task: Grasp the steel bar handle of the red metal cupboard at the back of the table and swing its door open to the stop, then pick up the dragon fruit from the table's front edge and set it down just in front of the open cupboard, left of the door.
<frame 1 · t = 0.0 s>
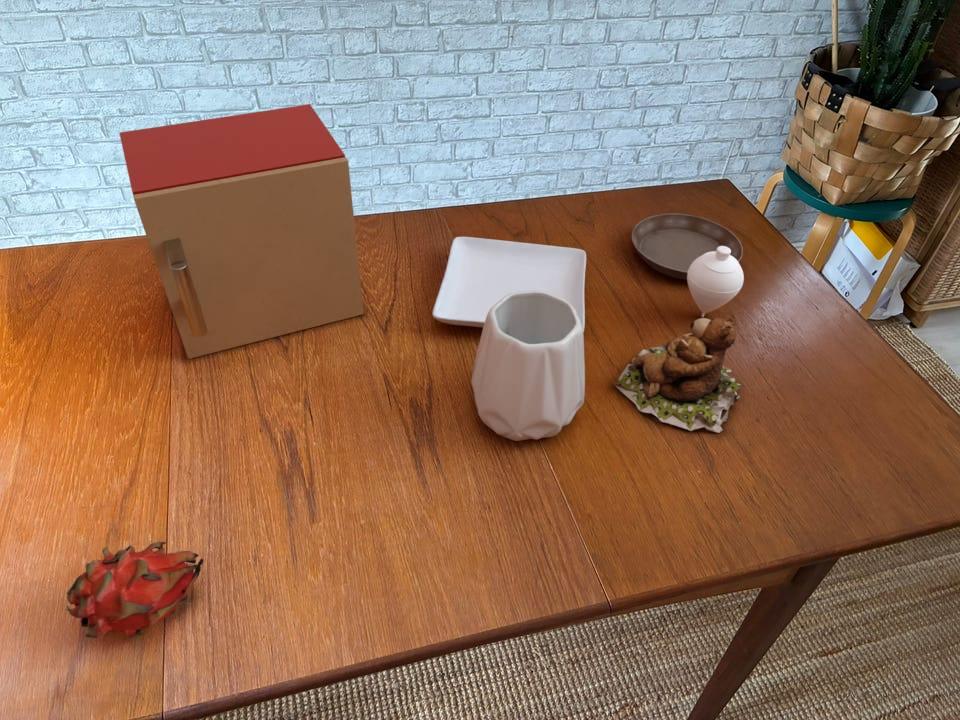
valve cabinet: (264, 298, 104), on the table
spinning top: (702, 317, 104), on the table
plate: (512, 298, 106), on the table
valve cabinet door: (269, 276, 88), point 12 cm above the table, hinge at 0.0°
bear figurine: (676, 391, 93), on the table
dragon fruit: (149, 605, 69), on the table
vase: (524, 409, 89), on the table
plant saucer: (682, 257, 116), on the table
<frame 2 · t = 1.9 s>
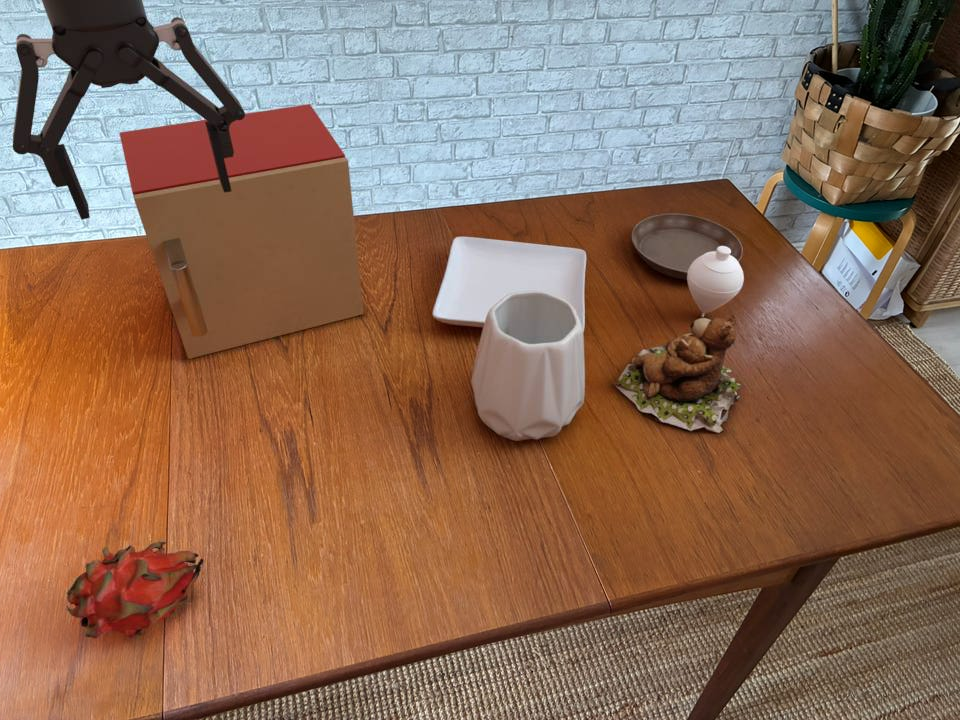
hand: (157, 199, 72), 27 cm above the table, tool pointing down, fingers open, 13 cm apart
nothing on the table moved.
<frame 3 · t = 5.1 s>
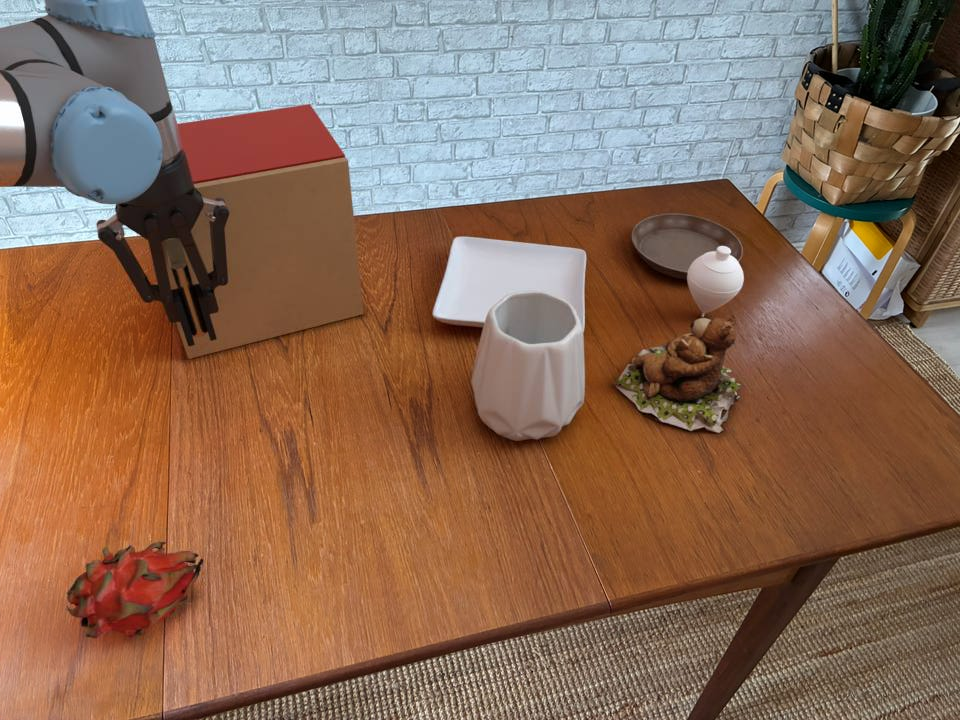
hand: (200, 335, 85), 8 cm above the table, tool pointing down, fingers closed on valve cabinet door, 2 cm apart
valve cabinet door: (269, 276, 88), point 12 cm above the table, hinge at 0.0°, touching gripper
everything else where it was.
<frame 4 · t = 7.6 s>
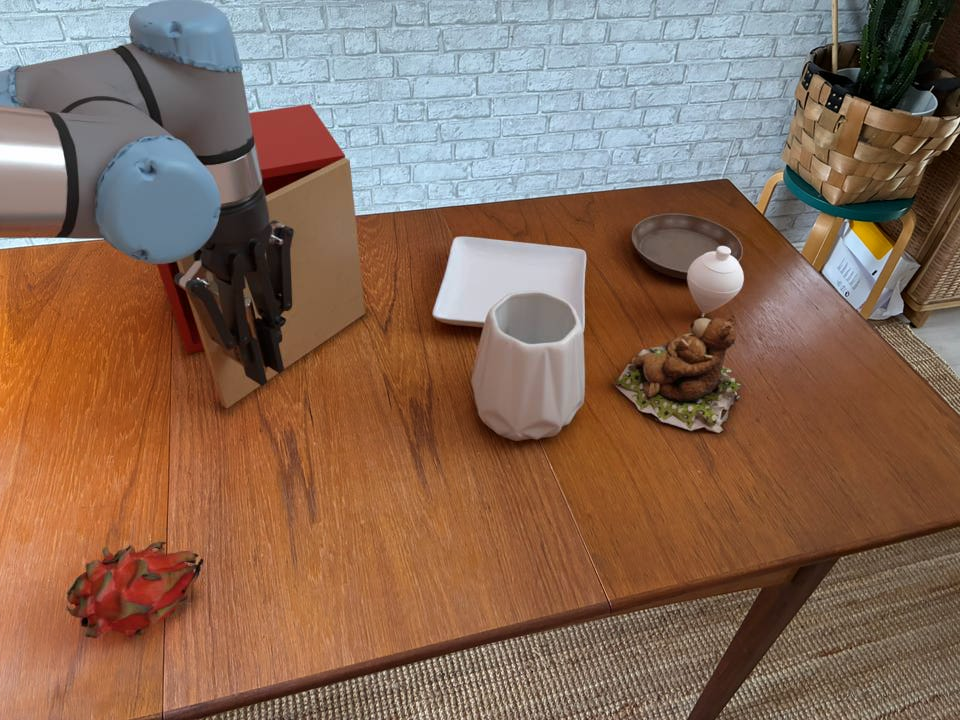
hand: (265, 372, 81), 8 cm above the table, tool pointing down, fingers closed on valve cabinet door, 2 cm apart
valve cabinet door: (302, 294, 85), point 12 cm above the table, hinge at 27.3°, touching gripper
everything else where it was.
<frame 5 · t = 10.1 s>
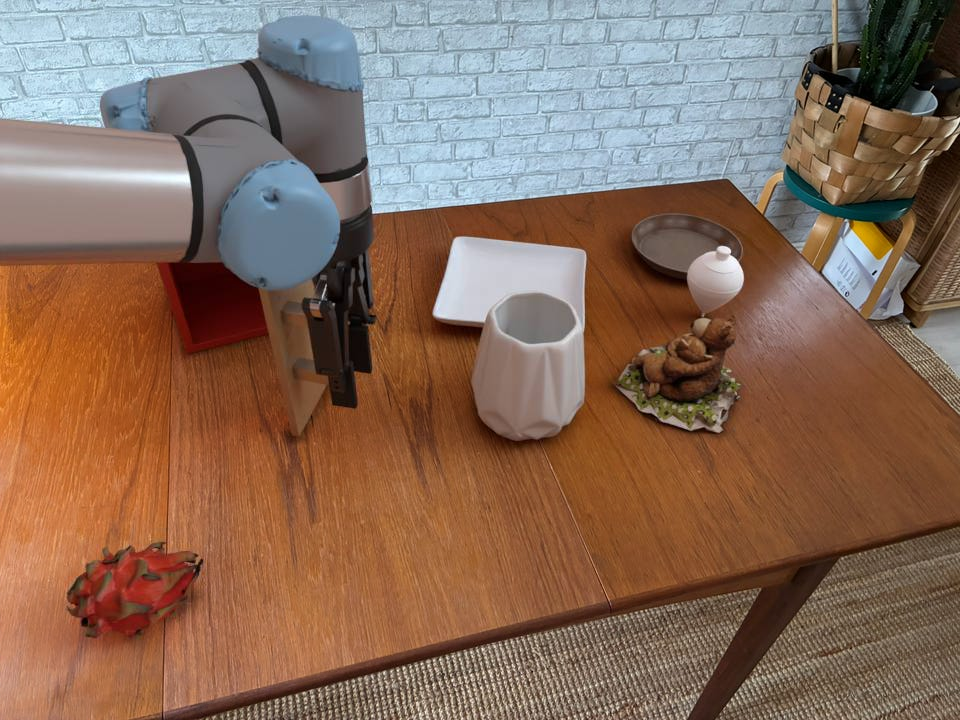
hand: (352, 386, 79), 8 cm above the table, tool pointing down, fingers open, 5 cm apart
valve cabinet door: (346, 300, 85), point 12 cm above the table, hinge at 52.5°
everything else where it was.
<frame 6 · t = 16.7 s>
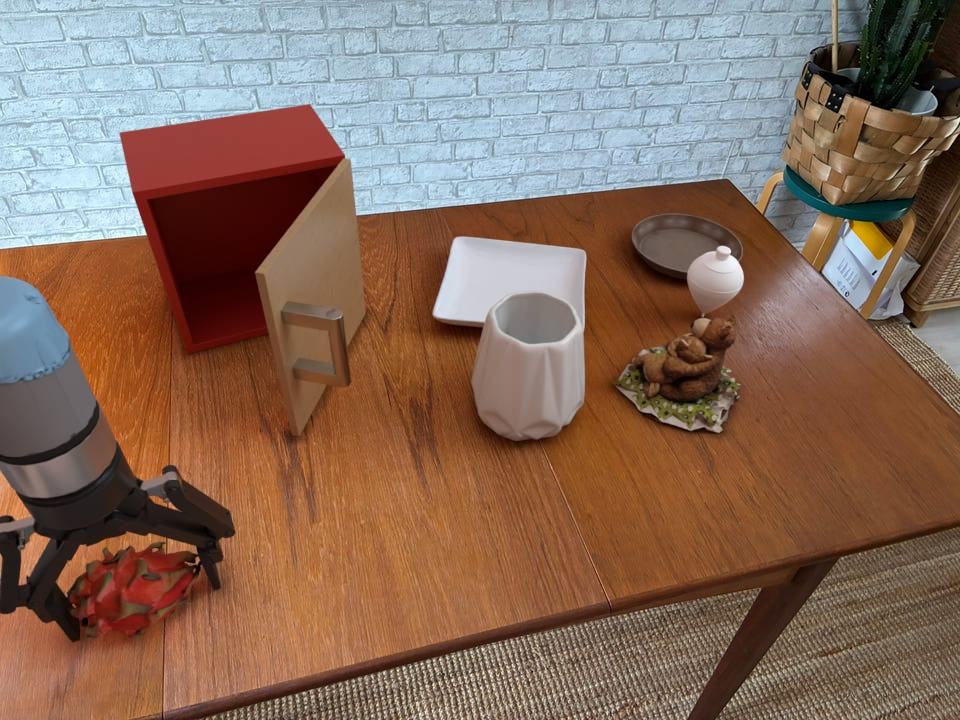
hand: (147, 602, 68), 0 cm above the table, tool pointing down, fingers closed on dragon fruit, 12 cm apart
dragon fruit: (149, 605, 69), on the table, touching gripper
everything else where it was.
when the fingers open (0 cm above the table, at t = 24.3 s): dragon fruit stays where it is, on the table.
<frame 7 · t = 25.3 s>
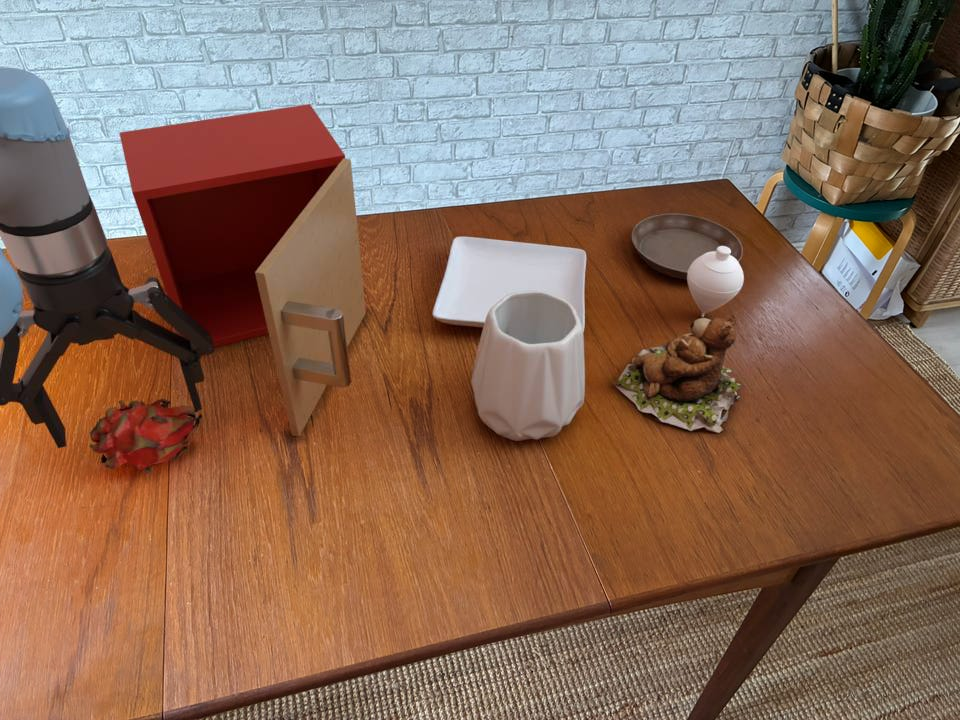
hand: (131, 420, 76), 7 cm above the table, tool pointing down, fingers open, 13 cm apart
dragon fruit: (157, 453, 82), on the table
everything else where it was.
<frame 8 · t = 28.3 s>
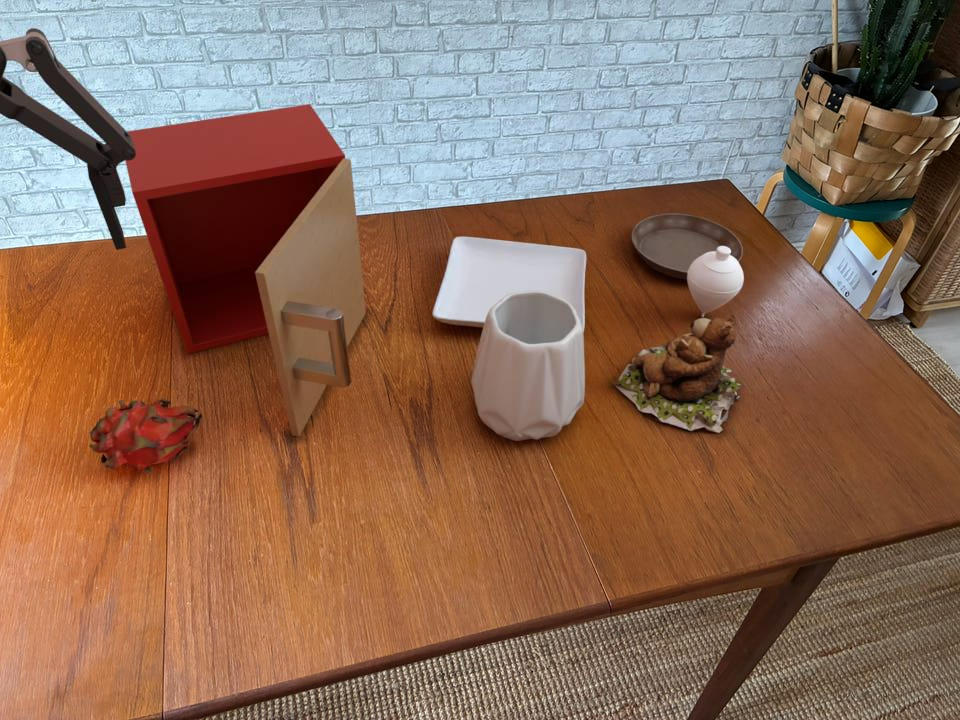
hand: (28, 259, 56), 32 cm above the table, tool pointing down, fingers open, 13 cm apart
nothing on the table moved.
at the end: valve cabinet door at +52° (first picture: +0°); dragon fruit inside the target area (0.0 cm from its centre), on the table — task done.
